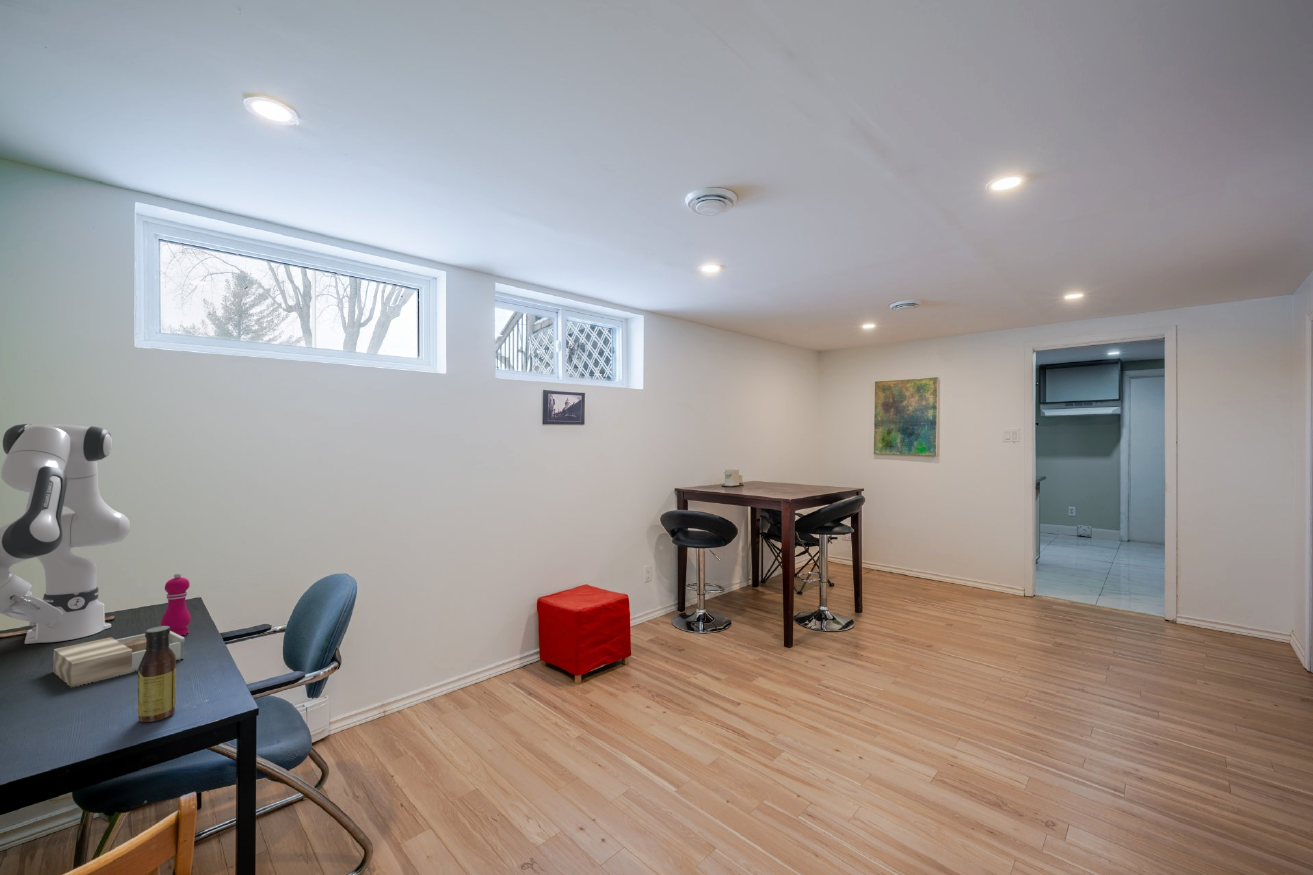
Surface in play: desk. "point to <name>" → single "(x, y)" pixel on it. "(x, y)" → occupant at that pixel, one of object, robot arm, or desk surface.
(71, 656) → the beige box sleeve
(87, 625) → the robot arm
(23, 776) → the desk surface
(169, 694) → the sauce bottle
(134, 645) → the walnut block
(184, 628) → the pepper mill
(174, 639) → the tray
